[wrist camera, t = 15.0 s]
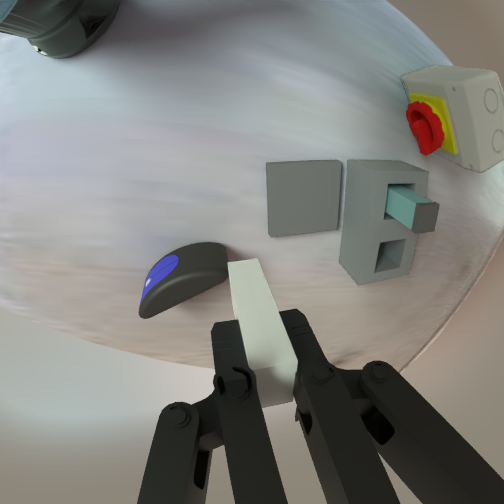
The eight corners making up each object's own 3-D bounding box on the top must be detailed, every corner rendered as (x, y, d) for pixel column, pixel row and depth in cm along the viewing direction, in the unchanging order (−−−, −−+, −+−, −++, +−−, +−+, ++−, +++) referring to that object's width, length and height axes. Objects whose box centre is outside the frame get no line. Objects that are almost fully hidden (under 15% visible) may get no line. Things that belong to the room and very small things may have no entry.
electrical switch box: (372, 84, 38) (442, 92, 22) (428, 64, 35) (502, 72, 18) (398, 153, 46) (463, 192, 29) (448, 129, 42) (516, 159, 26)
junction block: (347, 159, 42) (373, 170, 36) (402, 160, 44) (430, 172, 37) (338, 262, 52) (357, 285, 45) (388, 253, 54) (410, 273, 47)
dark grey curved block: (214, 226, 44) (218, 255, 36) (227, 248, 47) (234, 280, 38) (134, 270, 45) (123, 304, 37) (149, 289, 48) (142, 324, 39)
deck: (266, 162, 41) (268, 164, 39) (336, 159, 42) (341, 161, 41) (268, 233, 47) (270, 237, 45) (333, 225, 48) (336, 229, 47)
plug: (367, 177, 44) (420, 205, 32) (386, 177, 44) (439, 204, 32) (365, 200, 46) (415, 233, 34) (384, 198, 46) (434, 231, 34)
